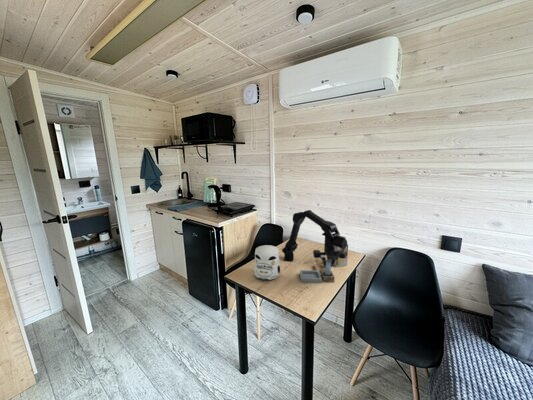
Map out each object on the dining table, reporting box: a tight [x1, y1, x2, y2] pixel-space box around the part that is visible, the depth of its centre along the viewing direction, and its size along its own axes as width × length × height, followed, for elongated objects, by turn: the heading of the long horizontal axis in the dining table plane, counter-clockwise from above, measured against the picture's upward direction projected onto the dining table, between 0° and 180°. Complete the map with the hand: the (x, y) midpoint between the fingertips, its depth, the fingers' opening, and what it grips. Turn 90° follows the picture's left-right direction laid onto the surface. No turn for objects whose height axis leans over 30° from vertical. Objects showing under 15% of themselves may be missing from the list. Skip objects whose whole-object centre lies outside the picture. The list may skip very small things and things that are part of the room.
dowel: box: [325, 259, 332, 276], centre depth 136 cm, size 4×4×9 cm
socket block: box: [320, 270, 335, 283], centre depth 138 cm, size 7×7×4 cm
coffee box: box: [333, 243, 349, 268], centre depth 155 cm, size 9×6×16 cm
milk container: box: [253, 244, 281, 281], centre depth 141 cm, size 17×17×18 cm
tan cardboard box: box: [313, 263, 325, 274], centre depth 149 cm, size 6×9×2 cm, turn 1°
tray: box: [299, 269, 323, 284], centre depth 139 cm, size 12×10×2 cm
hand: (328, 266), depth 136 cm, fingers closed on dowel, 4 cm apart
